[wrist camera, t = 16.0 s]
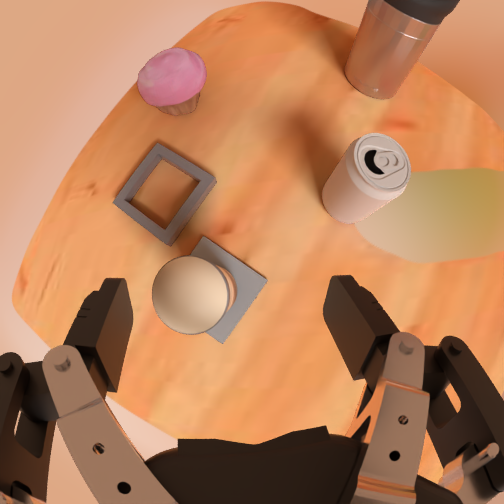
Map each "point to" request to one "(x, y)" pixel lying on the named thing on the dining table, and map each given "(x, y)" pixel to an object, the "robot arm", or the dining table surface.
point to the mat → (245, 280)
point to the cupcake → (173, 81)
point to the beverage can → (366, 178)
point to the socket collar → (187, 208)
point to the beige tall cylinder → (192, 294)
